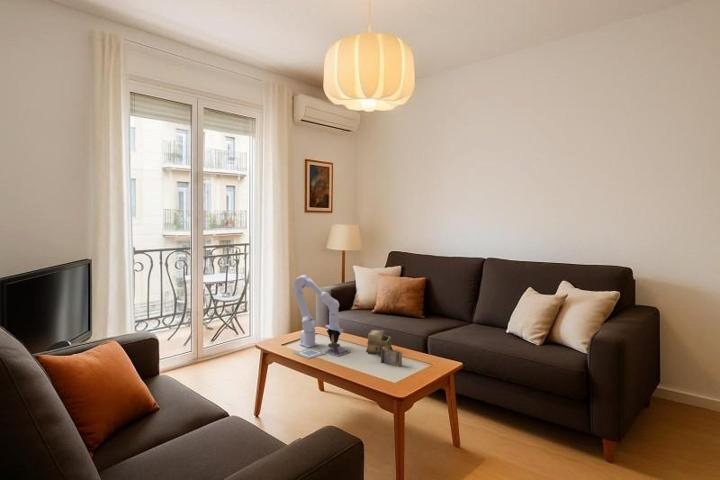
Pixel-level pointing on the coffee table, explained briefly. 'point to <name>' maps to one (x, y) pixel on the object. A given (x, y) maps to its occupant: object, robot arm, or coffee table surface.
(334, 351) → the ink pad
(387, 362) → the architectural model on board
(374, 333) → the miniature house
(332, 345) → the wooden stamp
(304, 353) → the marked board
